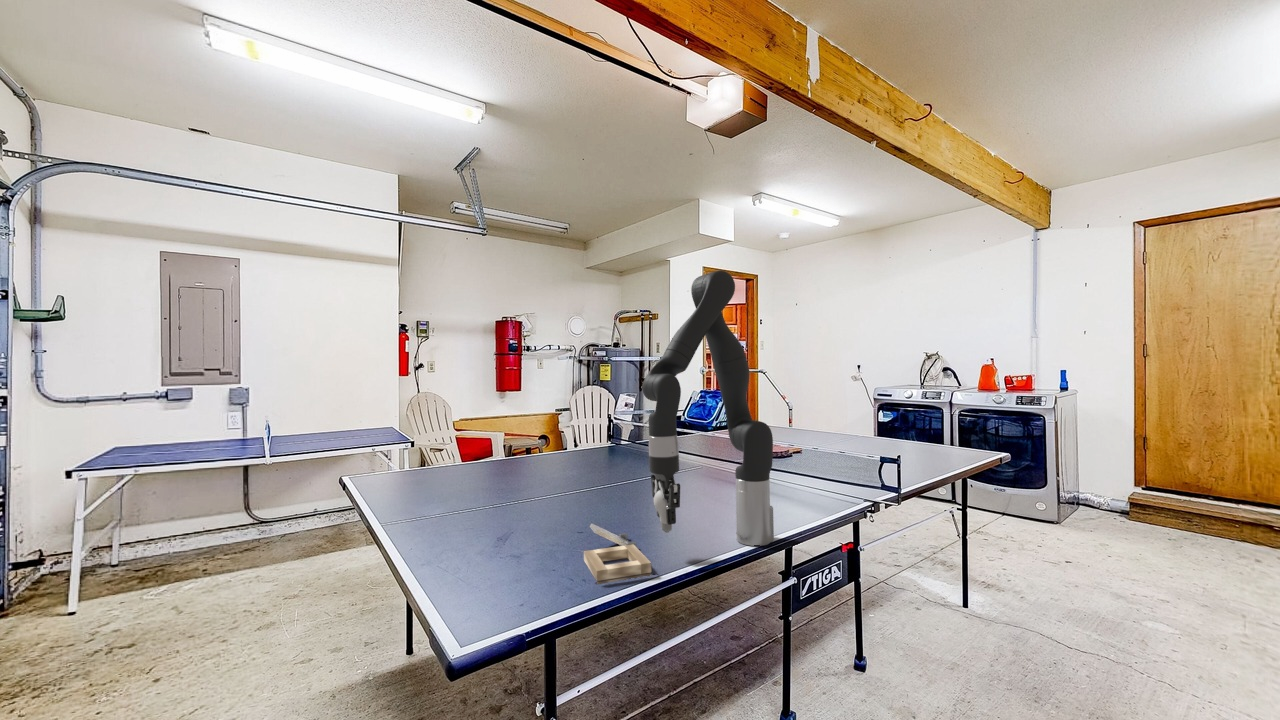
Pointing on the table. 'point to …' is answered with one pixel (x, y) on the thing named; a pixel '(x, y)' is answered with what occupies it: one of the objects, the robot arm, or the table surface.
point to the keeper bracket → (625, 536)
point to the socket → (604, 572)
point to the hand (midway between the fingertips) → (666, 519)
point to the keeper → (609, 535)
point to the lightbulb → (662, 511)
